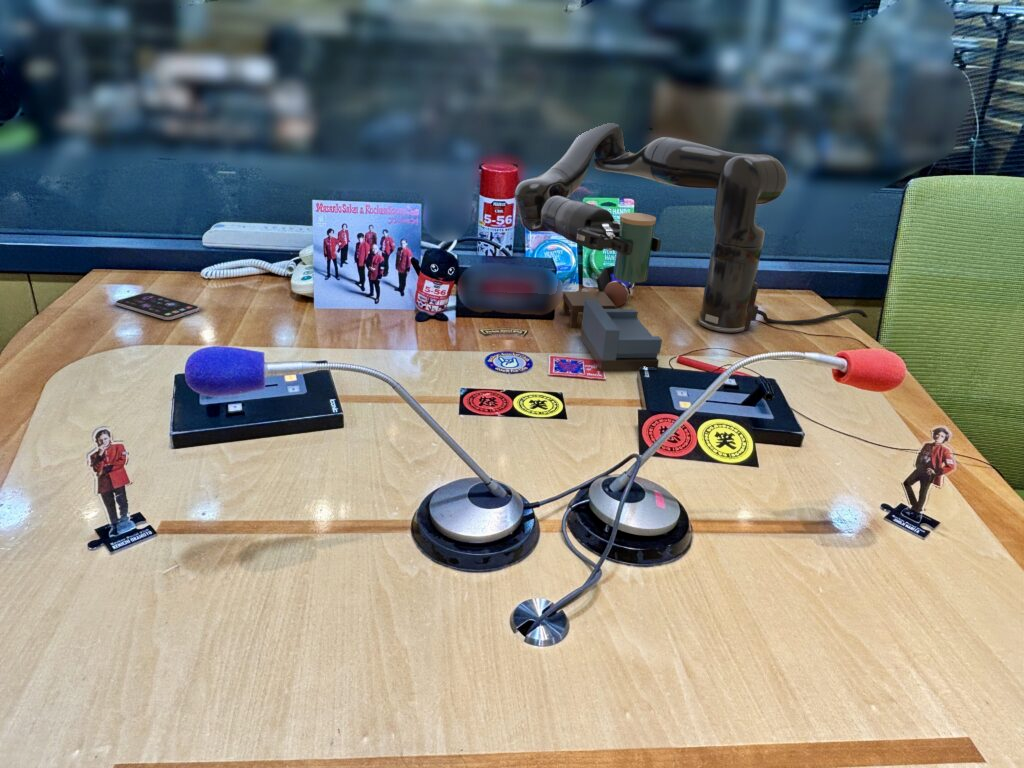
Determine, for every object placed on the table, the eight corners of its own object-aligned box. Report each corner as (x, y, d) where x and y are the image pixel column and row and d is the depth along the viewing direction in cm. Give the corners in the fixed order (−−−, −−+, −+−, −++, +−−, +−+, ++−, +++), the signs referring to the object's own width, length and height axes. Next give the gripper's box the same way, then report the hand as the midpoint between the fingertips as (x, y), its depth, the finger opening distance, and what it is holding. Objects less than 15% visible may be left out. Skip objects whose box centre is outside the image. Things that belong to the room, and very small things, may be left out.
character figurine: (634, 296, 160) (621, 318, 147) (603, 289, 161) (587, 310, 148) (642, 263, 156) (629, 282, 143) (609, 255, 158) (594, 274, 145)
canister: (641, 272, 128) (650, 213, 123) (651, 283, 122) (661, 221, 118) (608, 271, 127) (616, 212, 122) (618, 282, 122) (626, 220, 117)
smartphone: (167, 318, 130) (112, 301, 136) (168, 321, 130) (113, 304, 136) (201, 307, 136) (147, 291, 142) (202, 310, 136) (147, 294, 142)
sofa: (631, 337, 136) (636, 300, 133) (657, 370, 123) (663, 330, 120) (580, 337, 135) (584, 299, 131) (600, 371, 121) (605, 330, 118)
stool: (601, 312, 148) (604, 291, 146) (612, 327, 141) (615, 305, 139) (561, 312, 147) (563, 291, 145) (570, 327, 139) (572, 305, 137)
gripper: (554, 206, 127) (614, 228, 115) (616, 201, 135) (679, 222, 122) (550, 247, 131) (608, 273, 118) (611, 240, 138) (672, 264, 125)
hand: (644, 247), depth 120 cm, fingers closed on canister, 6 cm apart
